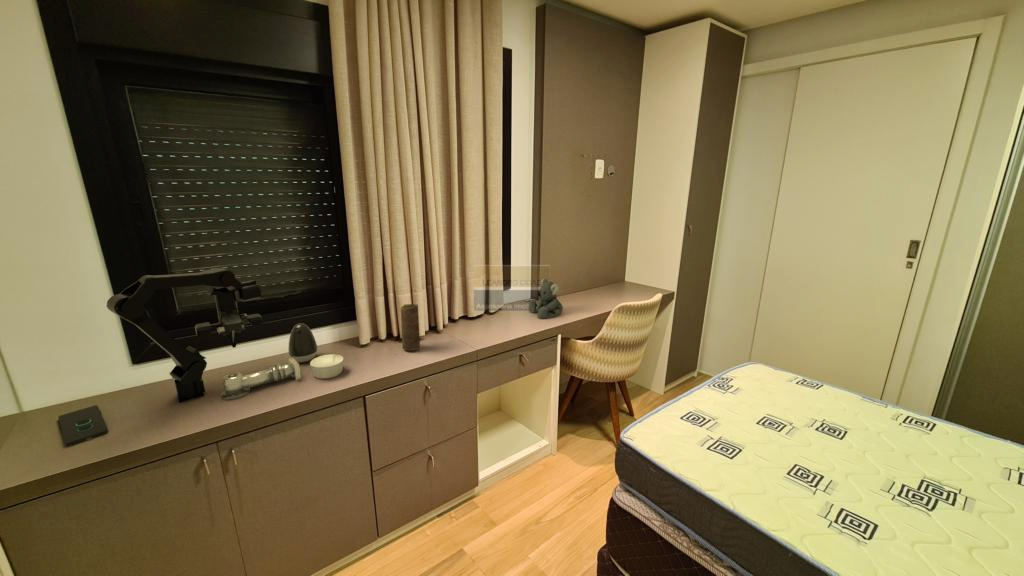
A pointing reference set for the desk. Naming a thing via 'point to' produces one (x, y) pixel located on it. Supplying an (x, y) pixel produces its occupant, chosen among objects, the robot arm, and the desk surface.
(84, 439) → the smart home device
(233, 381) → the elbow
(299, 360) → the black egg-shaped dome
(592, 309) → the desk surface
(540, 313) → the koala plush
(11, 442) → the desk surface
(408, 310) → the candle
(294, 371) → the metal pipe fitting
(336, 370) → the ramekin
